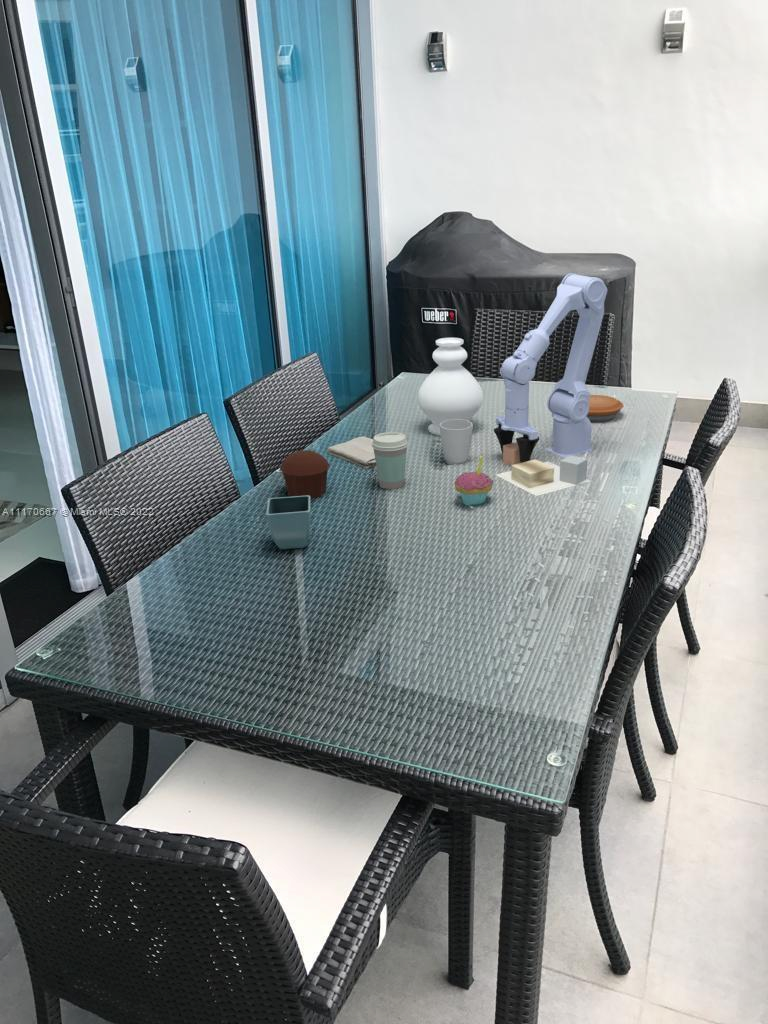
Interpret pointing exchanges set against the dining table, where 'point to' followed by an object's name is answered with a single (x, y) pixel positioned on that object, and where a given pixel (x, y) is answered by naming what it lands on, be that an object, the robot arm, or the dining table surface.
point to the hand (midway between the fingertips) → (515, 459)
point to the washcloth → (355, 452)
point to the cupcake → (474, 486)
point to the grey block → (573, 469)
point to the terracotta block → (511, 454)
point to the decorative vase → (449, 387)
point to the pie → (603, 408)
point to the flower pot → (289, 521)
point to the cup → (456, 440)
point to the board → (546, 487)
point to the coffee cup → (390, 458)
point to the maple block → (532, 473)
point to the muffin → (305, 473)
